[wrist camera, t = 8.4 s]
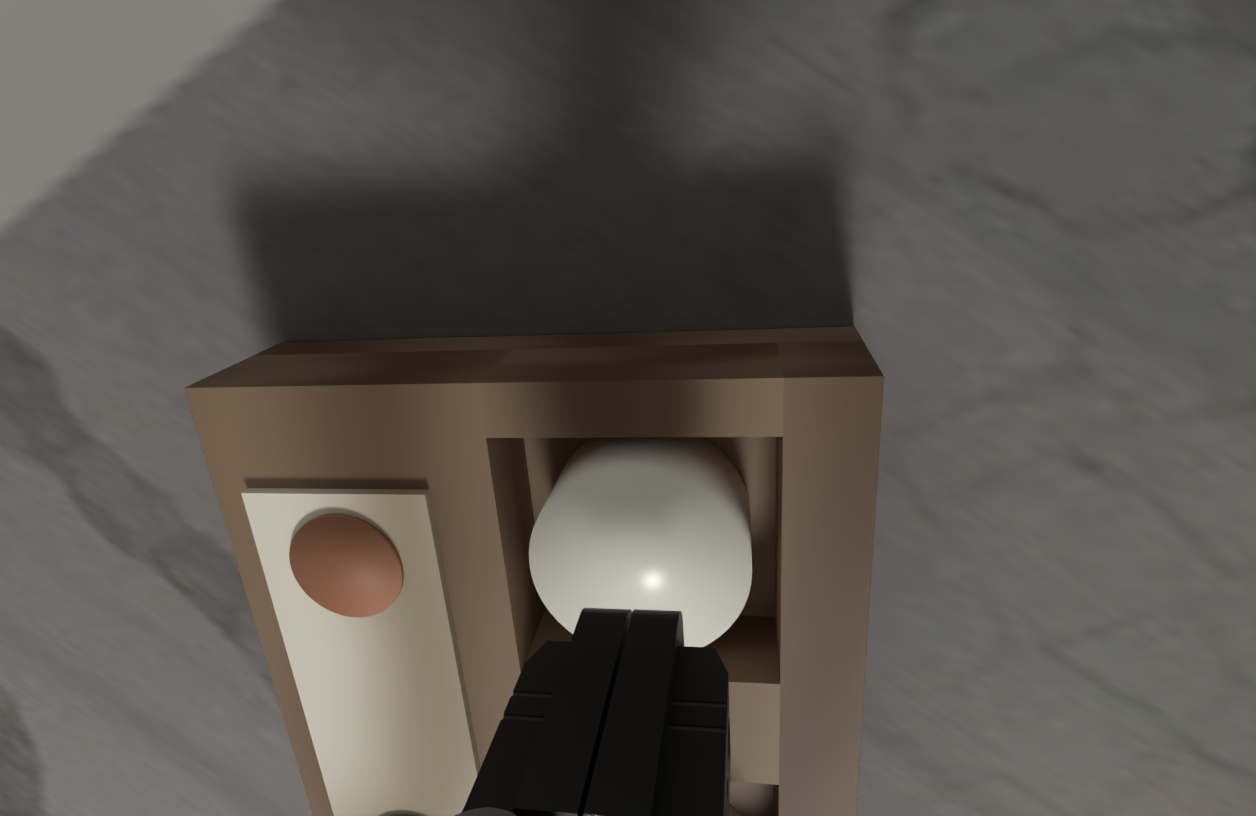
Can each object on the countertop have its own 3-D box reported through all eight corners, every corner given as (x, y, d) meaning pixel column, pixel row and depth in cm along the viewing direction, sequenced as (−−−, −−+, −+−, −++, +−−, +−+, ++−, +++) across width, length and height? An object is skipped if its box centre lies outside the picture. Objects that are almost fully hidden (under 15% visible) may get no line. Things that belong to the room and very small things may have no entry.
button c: (749, 420, 14) (751, 466, 12) (750, 598, 15) (752, 664, 13) (545, 422, 14) (516, 465, 12) (564, 593, 16) (541, 654, 14)
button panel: (854, 326, 14) (887, 383, 11) (820, 1040, 21) (834, 1191, 18) (282, 341, 16) (171, 393, 13) (441, 993, 23) (397, 1124, 20)
